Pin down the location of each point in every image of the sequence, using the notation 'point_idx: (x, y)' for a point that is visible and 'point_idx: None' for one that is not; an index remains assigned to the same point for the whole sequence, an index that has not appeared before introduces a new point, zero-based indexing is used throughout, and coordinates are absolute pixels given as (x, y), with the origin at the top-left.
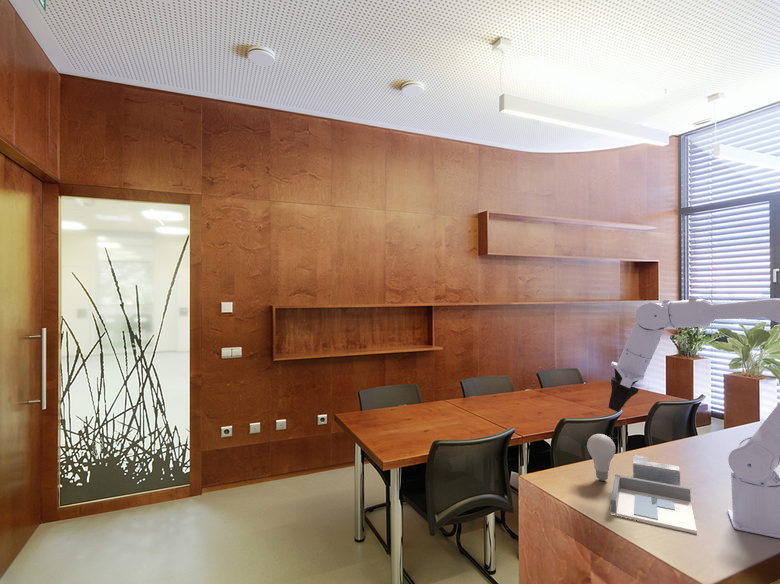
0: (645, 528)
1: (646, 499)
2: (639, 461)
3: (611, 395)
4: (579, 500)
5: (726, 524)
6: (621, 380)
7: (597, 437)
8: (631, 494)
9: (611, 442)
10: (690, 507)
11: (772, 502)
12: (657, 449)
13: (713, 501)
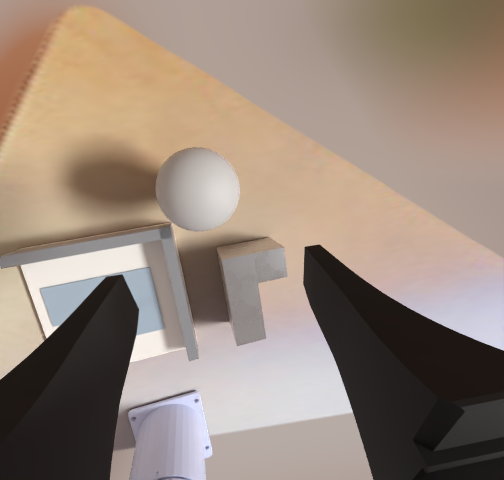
0: (13, 312)
1: (135, 290)
2: (245, 268)
3: (36, 349)
4: (41, 174)
5: (143, 397)
6: (364, 369)
7: (177, 186)
8: (144, 260)
9: (193, 226)
10: (160, 352)
11: None
12: (446, 241)
13: (229, 366)
